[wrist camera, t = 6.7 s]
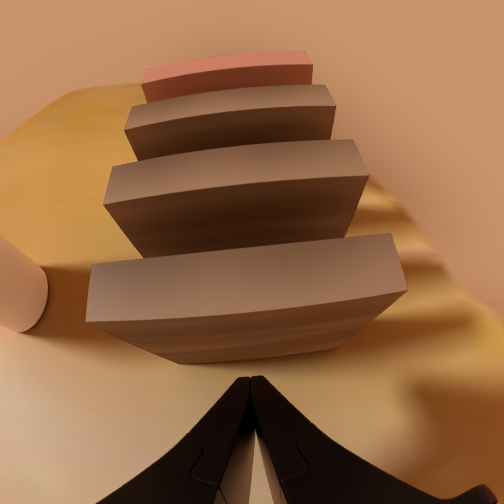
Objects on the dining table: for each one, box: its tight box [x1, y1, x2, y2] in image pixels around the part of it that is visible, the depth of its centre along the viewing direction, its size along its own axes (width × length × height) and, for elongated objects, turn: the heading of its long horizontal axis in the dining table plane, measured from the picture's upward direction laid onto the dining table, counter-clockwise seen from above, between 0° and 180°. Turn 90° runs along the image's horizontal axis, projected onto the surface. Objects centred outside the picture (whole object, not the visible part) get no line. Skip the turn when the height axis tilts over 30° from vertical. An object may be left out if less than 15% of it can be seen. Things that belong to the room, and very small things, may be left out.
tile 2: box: [103, 140, 369, 259], centre depth 16 cm, size 2×10×11 cm, turn 95°
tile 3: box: [124, 85, 336, 161], centre depth 18 cm, size 2×10×11 cm, turn 95°
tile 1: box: [85, 233, 408, 364], centre depth 13 cm, size 2×10×11 cm, turn 95°
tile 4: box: [141, 51, 313, 103], centre depth 20 cm, size 2×10×11 cm, turn 95°
